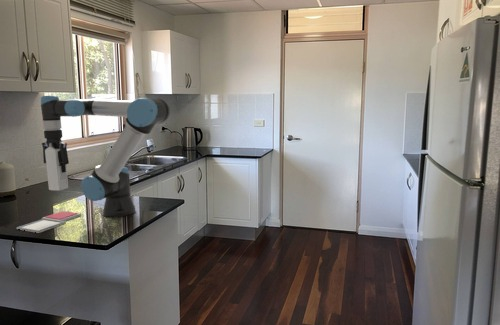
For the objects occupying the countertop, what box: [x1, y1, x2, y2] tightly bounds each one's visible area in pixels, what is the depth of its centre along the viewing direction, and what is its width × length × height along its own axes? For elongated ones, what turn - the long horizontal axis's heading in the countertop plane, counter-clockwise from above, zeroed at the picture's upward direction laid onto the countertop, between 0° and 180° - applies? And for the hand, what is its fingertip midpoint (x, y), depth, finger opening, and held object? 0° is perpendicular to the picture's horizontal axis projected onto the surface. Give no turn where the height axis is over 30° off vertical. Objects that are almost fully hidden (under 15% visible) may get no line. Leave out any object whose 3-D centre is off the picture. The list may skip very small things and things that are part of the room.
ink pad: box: [41, 210, 82, 222], centre depth 194 cm, size 12×12×2 cm
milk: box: [45, 143, 69, 191], centre depth 191 cm, size 6×6×22 cm
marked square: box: [16, 218, 67, 234], centre depth 182 cm, size 14×14×1 cm
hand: (57, 178), depth 191 cm, fingers closed on milk, 6 cm apart
